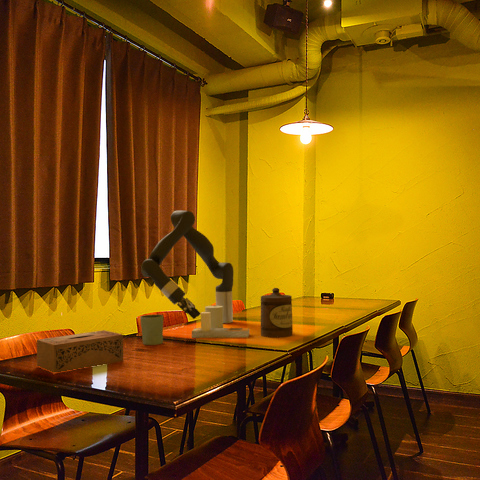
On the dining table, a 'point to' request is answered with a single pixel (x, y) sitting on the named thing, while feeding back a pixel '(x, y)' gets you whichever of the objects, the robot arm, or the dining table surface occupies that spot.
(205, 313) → the block
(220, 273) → the robot arm
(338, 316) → the dining table surface
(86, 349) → the tissue box cover
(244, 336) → the rail
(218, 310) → the can
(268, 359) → the dining table surface
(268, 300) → the wooden container
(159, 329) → the grey green cup
